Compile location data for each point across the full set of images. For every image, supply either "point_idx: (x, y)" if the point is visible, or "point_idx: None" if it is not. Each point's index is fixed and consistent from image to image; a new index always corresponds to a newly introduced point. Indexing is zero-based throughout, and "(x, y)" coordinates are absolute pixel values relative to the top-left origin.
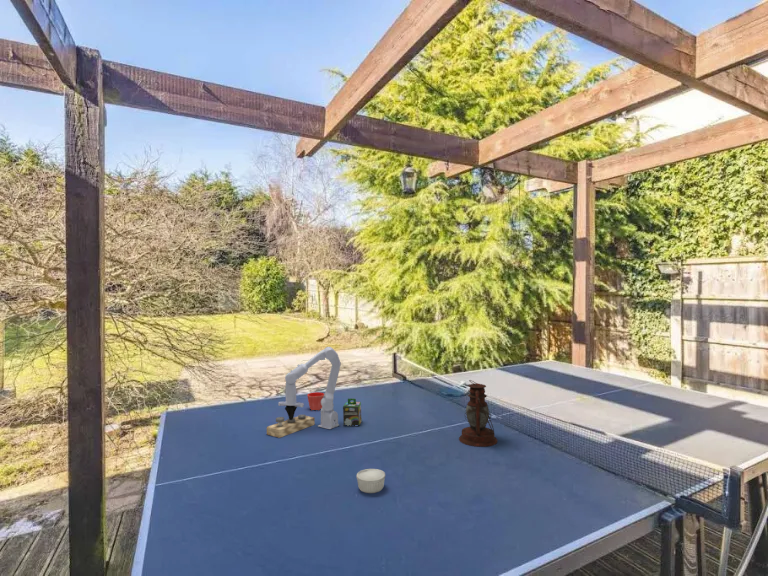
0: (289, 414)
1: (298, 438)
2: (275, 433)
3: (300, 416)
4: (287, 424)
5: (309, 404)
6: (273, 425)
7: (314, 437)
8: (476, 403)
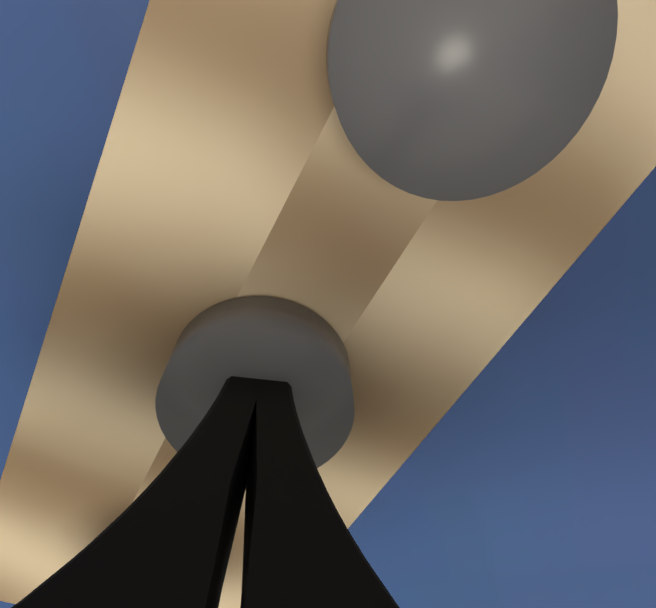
0: (220, 590)
1: (470, 551)
2: None
3: (441, 172)
4: None
5: None
6: (26, 541)
7: (649, 518)
8: None
